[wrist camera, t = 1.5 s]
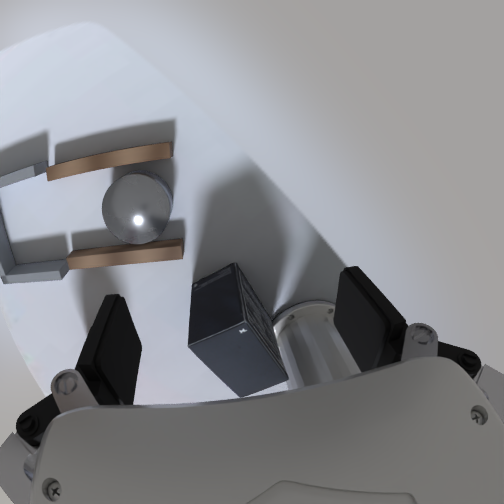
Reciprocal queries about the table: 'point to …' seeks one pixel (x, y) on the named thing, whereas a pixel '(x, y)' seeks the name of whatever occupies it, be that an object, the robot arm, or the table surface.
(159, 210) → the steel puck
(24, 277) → the grey u-shaped frame
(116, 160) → the walnut slot
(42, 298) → the table surface
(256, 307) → the small box
